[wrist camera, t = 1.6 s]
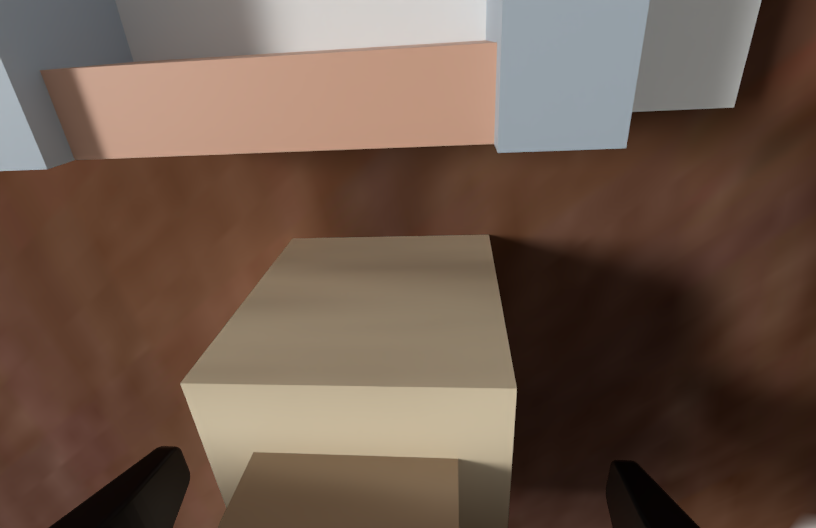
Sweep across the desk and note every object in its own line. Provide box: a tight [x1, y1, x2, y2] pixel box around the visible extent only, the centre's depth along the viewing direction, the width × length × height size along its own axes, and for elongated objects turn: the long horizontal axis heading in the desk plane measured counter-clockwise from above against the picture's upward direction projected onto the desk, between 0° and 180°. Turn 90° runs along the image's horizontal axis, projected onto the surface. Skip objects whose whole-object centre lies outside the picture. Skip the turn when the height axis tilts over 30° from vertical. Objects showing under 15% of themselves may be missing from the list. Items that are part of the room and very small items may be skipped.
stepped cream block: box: [180, 235, 517, 528], centre depth 9 cm, size 8×4×6 cm, turn 4°
